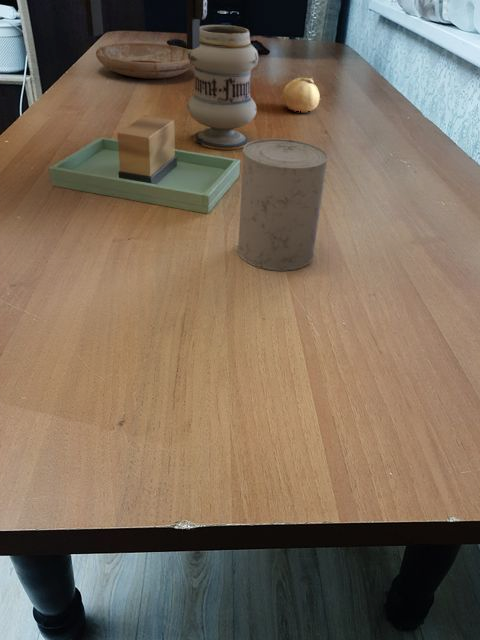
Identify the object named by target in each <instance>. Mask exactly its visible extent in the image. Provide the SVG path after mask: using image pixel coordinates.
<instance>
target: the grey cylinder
mask: <svg viewBox="0 0 480 640" xmlns="http://www.w3.org/2000/svg"><path fill="white" fill-rule="evenodd" d="M242 153H243V158H242V175H241V176H242V177H241V193H240V209H239V210H240V211H239V228H238V242H237V243H238V244H237V248H236V249H237V250H236V251H237V253H238V256H239V257H240V259H242V260H243V261H244V262H246V263H247V264H249V265H251V266H253V267H256V268H259V269H263V270H267V271H275V272H289V271H290V272H291V271H295V270H300V269H302V268H305V267H307V266H309V265H310V264H311V263H312V262H311V261H313V260H314V257H315V249H316V248H315V247H316V242H317V241H316V240H317V233H318V227H319V221H320V215H321V206H322V200H323V195H324V194H323V192H324V187H325V180H326V173H327V166H328V161H329V154H328V153H327V151H326V150H324V149H322V148H321V147H319V146H317V145H315V144H311V143H308V142H304V141H301V140H295V139H287V138H262V139H257V140H253V141H249V142H248V144H246V145H245V146H244V147H243V148H242Z"/></svg>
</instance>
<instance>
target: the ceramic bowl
mask: <svg viewBox="0 0 480 640" xmlns="http://www.w3.org/2000/svg"><path fill="white" fill-rule="evenodd" d="M95 56H96V59H97V60H98V61H99V63H100V64H101V65H103V67H105V68H107V69H109V70H110V71H112V72H114V73H117V74H119V75H122V76H126V77H127V76H128V77H131V78H138V79H153V80H154V79H165V78H172V77H176V76H179V75H182V74H183V73H185V72H187V71H188V70H190V69H192V67H193V66H194V65H193V64H191V62H190V61H189V59H188V49H187V48H185V47H181V46H178V45H171V44H164V43H152V42H122V43H121V42H120V43H112V44H106V45H103V46H99V47H98V48H97V49H95Z"/></svg>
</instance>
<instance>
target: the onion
mask: <svg viewBox="0 0 480 640" xmlns="http://www.w3.org/2000/svg"><path fill="white" fill-rule="evenodd" d="M314 78H315V76H312V77H311V78H309V77H297V78H295V79H293V80H291V81H290V82H288V83H287V84H286V85H285V87H283V88H284V89H283V90H282V94H281V99H282V102H283V104H284V106H285V108H286V109H287V107H288V108H290V111H292V110H293V112H296V111H299V112H300V111H301V113H309V112H308V111H310V112H312V111H314V110H315V109H316V108H317V107H318V105H319V103H320V97H321V96H320V91H319V88H318V87H317V85H316V84H315V82H314V81H315V80H313V79H314Z"/></svg>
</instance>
